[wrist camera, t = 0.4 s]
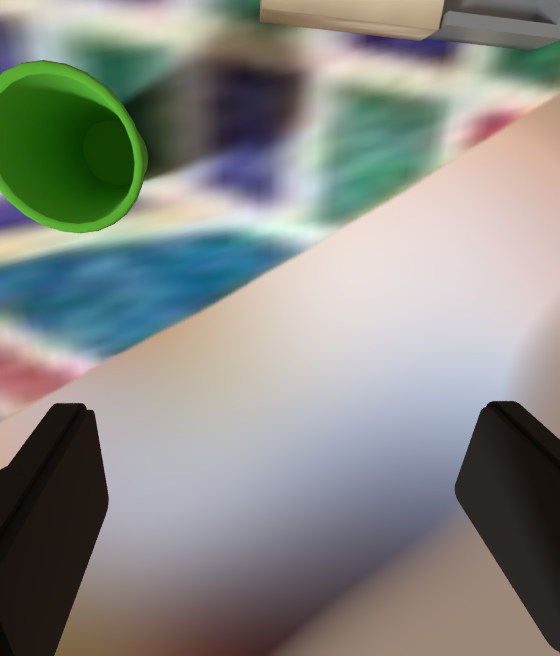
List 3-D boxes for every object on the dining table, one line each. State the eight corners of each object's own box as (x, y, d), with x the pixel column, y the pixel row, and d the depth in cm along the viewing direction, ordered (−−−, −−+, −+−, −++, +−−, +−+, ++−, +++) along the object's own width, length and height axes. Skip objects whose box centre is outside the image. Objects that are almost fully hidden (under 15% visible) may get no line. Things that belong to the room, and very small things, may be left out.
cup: (188, 128, 32) (165, 116, 22) (150, 227, 34) (115, 257, 25) (77, 66, 29) (-7, 20, 19) (46, 179, 32) (-40, 190, 22)
